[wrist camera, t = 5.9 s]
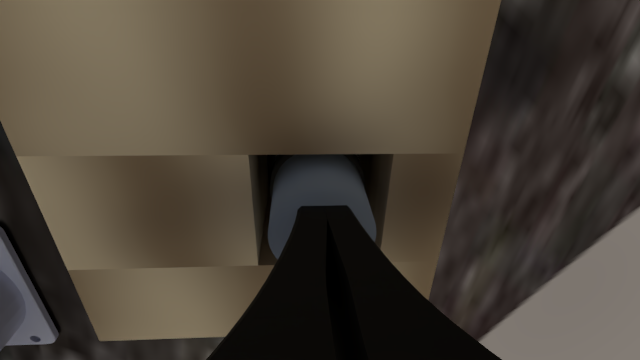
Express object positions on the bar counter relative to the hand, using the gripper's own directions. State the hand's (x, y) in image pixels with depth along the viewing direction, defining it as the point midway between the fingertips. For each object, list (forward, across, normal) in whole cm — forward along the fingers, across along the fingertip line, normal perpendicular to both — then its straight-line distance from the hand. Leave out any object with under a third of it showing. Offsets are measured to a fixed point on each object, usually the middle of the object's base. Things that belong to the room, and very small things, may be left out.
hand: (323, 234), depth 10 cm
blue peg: (+4, 0, 0) cm, 4 cm away
